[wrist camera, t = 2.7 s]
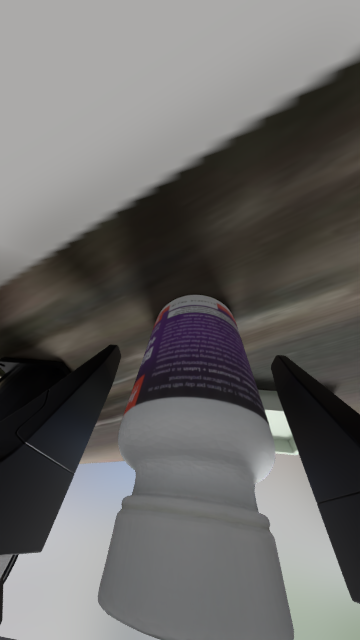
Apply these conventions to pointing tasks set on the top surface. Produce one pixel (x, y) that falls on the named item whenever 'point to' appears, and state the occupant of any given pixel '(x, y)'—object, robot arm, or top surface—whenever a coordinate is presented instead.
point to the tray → (278, 423)
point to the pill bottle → (195, 490)
